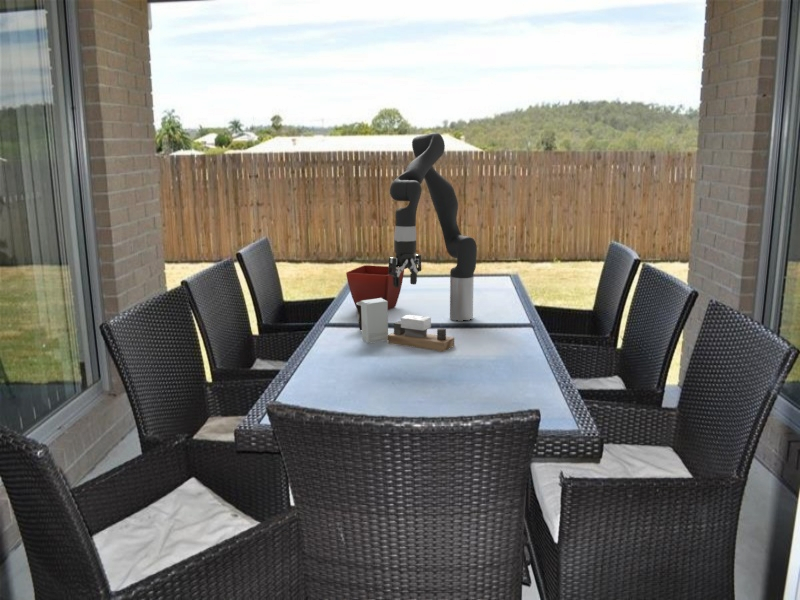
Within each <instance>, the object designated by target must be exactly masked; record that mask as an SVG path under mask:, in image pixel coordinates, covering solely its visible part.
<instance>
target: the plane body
mask: <svg viewBox="0 0 800 600" xmlns="http://www.w3.org/2000/svg"><path fill="white" fill-rule="evenodd" d="M427 330H428V329H426V330H424V331H423V330H415V329H408V328H401V320H398V321H396V322H394V323H393V332H392V333H390V334H389V333H388V340H387V344H390V345H396V346H398V345H399V346H403V347H412V348H418V349H425V350H432V351H436V352H446V351H448V350H450V349H451V348H453V347H455V337H453V336H447V329H446V328H443V327H441V328H437V331H436V334H432V333H431V334H429V333H428V331H427ZM452 346H453V347H452ZM449 348H450V349H449Z"/></svg>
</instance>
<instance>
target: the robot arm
mask: <svg viewBox="0 0 800 600" xmlns="http://www.w3.org/2000/svg"><path fill="white" fill-rule="evenodd" d="M411 147H412V151H413V154H414V157H415V158H414V159H413V160H412V161H411V162H409V164H408V165H407V167H406V169H405V170H404V172H403V173H401V174H400V175H398V177H396V178H395V179H394V180H393V181H392V183H391V184H390V186H389V187H390V188H389V195H390V197H391V199H393V200H394V201H398V202H408V205H407V206H405V207H401V208H397V209H396V210H395V215H394V216H395V217H394V218H395V224H394V225H395V226H394V237H393V238H394V247H393V248H394V249H393V250H394V253H395V257H388V266H389V268H388V274H389V275H392V276H393V286H394V287H397V288H398V287H400V277H399V275H400V273H401V272H402V271H403V269H404V270H406V269H408V270H409V272H410V277H409V278H410V280H409V282H410V284H411V285H416V284H417V281H418V273H419V272H421V271H422V255H421V254H417V253H416V252H417V225H416V223H417V210H418V206H419V203H420V199H421V195H422V183H423V181H424V180H425V184H426V186H427V189H428V193H429V195H430V199H431V202H432V204H433V208H434V210H435V214H436V215H437V218H438V223H439V226H440V228H441V230H442V231H441V233H442V236H443V240H444V244H445V248H446V252H447V254H448V255H449V256H450V257H452V258H454V259H456V261H457V262H456V265H455V267H452V268H451V269H450V271H449V274H450V276H449V278H450V279H449V320H451V321H456V320H458V321H457V322H464V321H463V320H468V321H471V320H470V319H472V318H473V319H474V277H475V276H474V275H475V274H474V273H475V271H476V267H477V256H478V255H477V254H478V249H477V248H478V246H477V242H476V240H475V239H474V238H473V237H472V236H471V237H470V236H466V235H463V234H461V233H462V232H461V231H460V228H459V226H458V221H457V218H458V210H459V202H458V199H457V196H456V192H455V189H454V187H453V185H452V184H451V183H450V182H449V180H447V179H446V178H444V177H443V175H441V174H440V173H439V172H438V171H437V170H436V169H435V167H434V165H435V164H436V162H438V160H439V159H440V158H442V156H443V154H444V152H445V141H444V138H443V136H442V135H441V134H440V133H439V132H430V133H426V134H421V135H418V136H415V137H414V138H413V139H412V142H411ZM398 267H399V268H398ZM392 268H393V271H392ZM397 271H398V272H397ZM396 272H397V273H396ZM473 319H472V320H473Z"/></svg>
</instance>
